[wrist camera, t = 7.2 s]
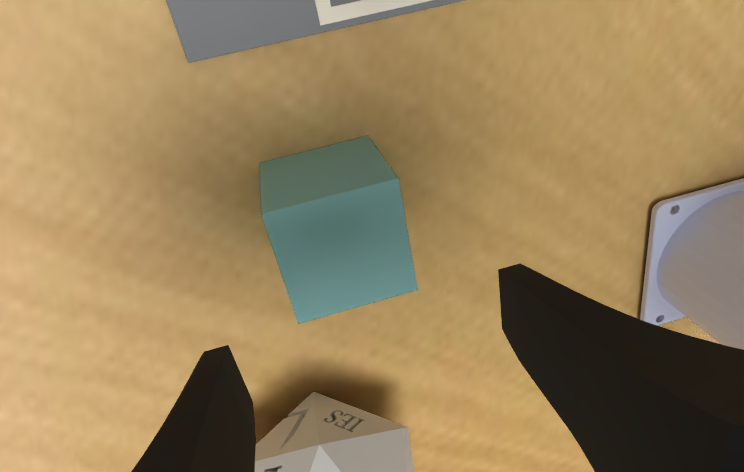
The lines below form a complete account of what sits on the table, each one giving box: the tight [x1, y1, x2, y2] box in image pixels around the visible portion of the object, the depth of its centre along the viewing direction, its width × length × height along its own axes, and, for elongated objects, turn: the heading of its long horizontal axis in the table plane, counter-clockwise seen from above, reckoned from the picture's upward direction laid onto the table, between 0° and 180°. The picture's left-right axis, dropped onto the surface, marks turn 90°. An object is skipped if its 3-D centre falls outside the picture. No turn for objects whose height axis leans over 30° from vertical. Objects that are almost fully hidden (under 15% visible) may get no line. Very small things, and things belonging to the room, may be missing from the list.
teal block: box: [260, 136, 418, 324], centre depth 19 cm, size 4×4×5 cm
